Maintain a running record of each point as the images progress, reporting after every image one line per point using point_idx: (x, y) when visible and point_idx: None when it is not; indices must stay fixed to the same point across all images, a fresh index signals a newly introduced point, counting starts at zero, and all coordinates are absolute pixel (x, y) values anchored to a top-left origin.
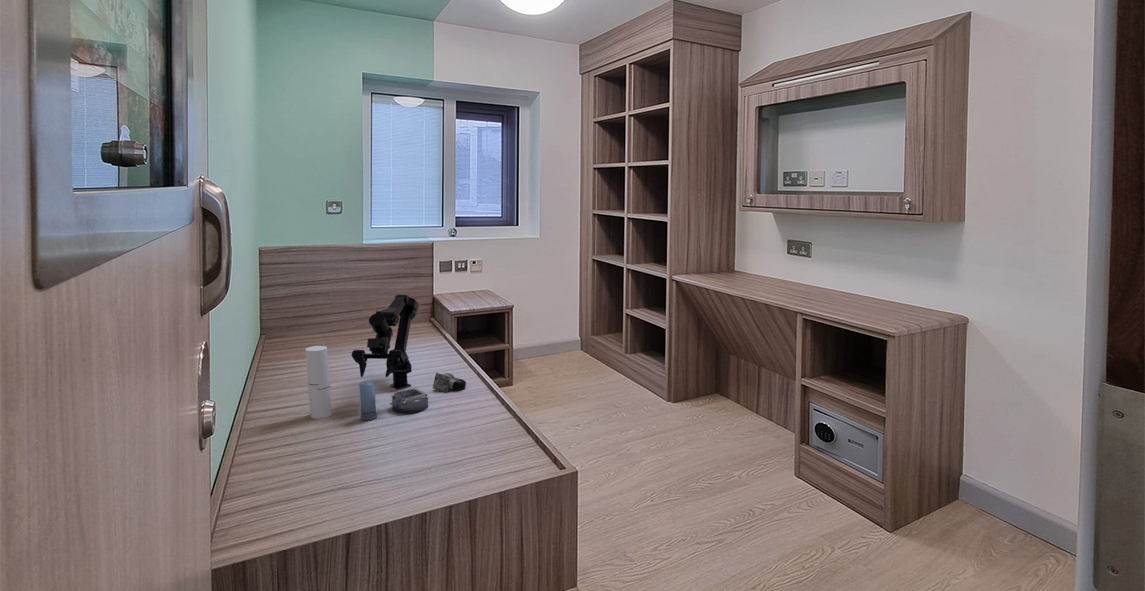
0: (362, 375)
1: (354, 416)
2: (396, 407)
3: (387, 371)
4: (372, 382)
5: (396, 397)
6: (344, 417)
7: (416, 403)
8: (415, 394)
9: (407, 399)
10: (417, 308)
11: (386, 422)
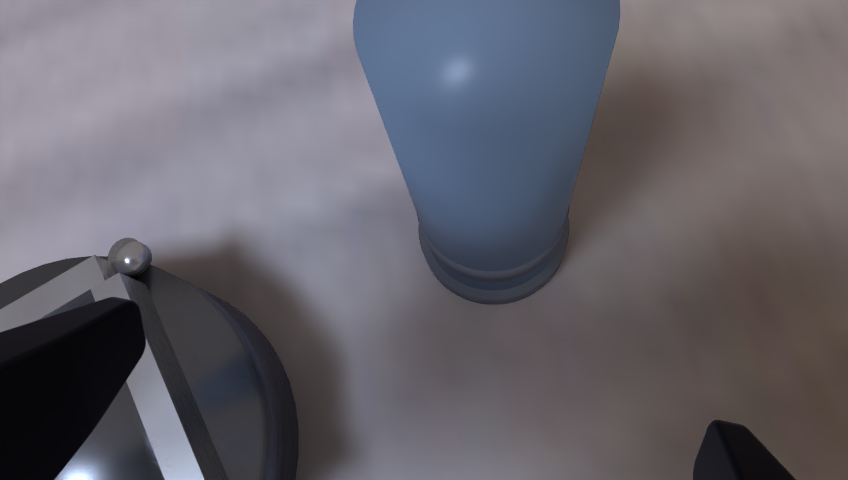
0: (704, 476)
1: (642, 292)
2: (234, 315)
3: (16, 334)
4: (383, 39)
5: (195, 420)
6: (737, 279)
7: (24, 278)
8: None
9: (74, 272)
10: None
11: (331, 120)
